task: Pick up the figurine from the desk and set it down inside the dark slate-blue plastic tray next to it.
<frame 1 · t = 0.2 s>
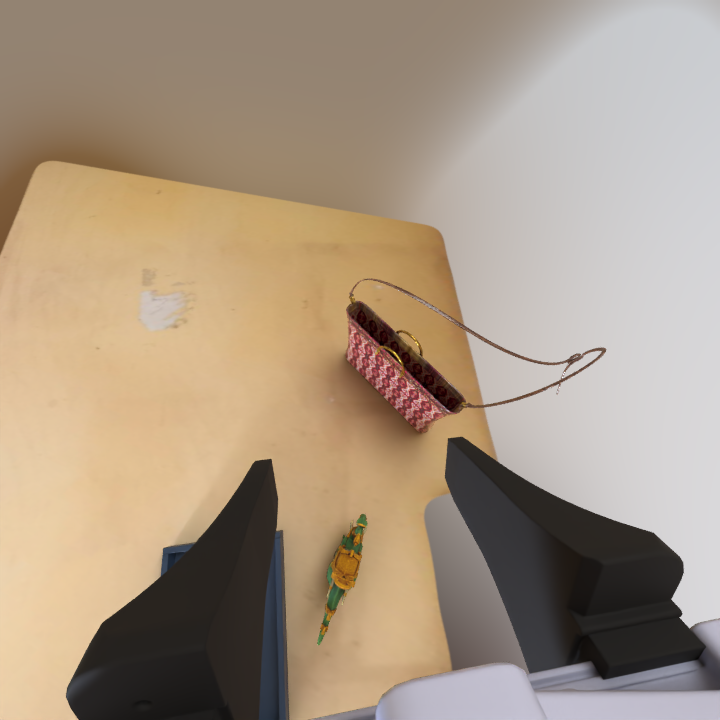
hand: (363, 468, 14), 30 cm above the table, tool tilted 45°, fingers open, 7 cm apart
figurine: (341, 566, 39), on the table
handbag: (405, 390, 48), on the table
tray: (226, 629, 36), on the table
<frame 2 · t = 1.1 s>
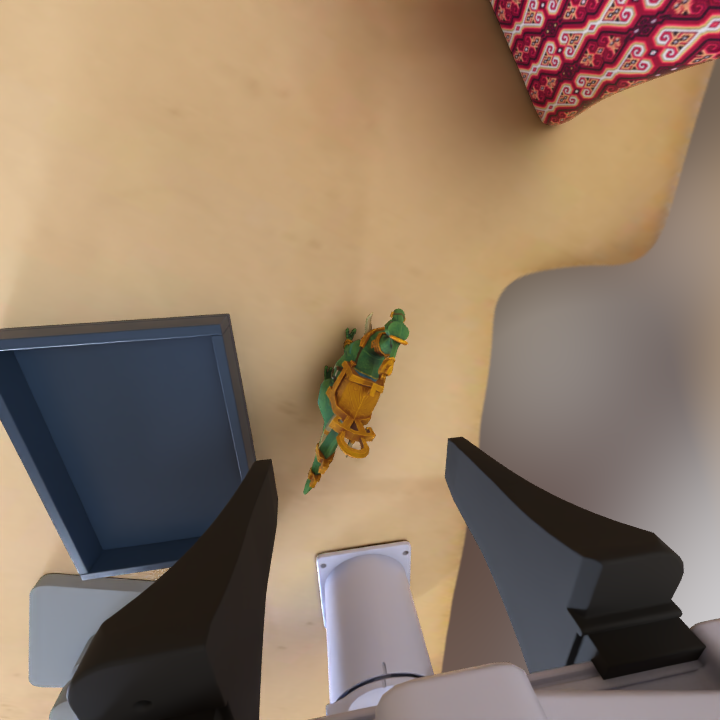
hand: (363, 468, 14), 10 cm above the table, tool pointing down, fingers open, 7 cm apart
figurine: (341, 373, 23), on the table
shower valve: (123, 637, 29), on the table
tray: (157, 445, 23), on the table
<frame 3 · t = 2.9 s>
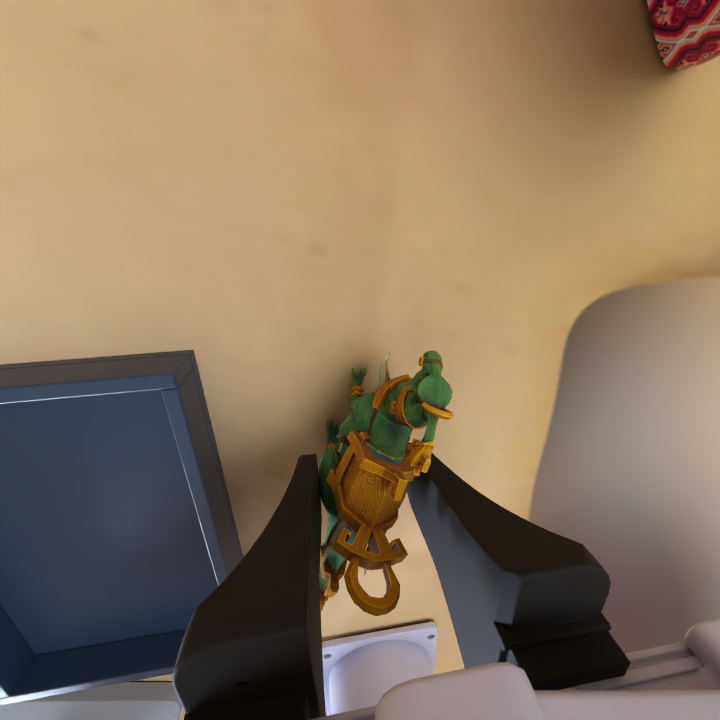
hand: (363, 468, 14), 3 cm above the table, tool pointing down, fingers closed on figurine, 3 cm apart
figurine: (350, 427, 17), on the table, touching gripper
tray: (101, 525, 17), on the table
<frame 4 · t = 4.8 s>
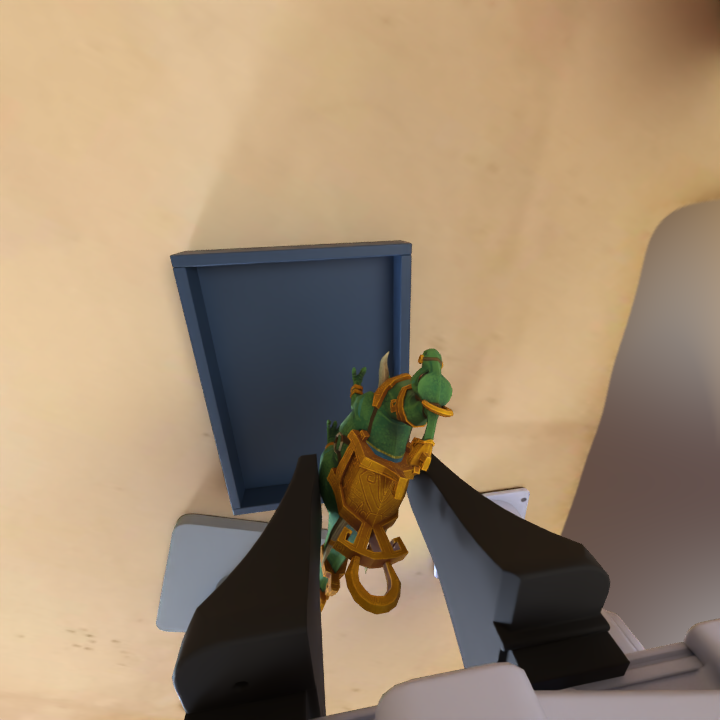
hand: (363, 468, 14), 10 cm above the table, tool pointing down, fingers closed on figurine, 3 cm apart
figurine: (350, 426, 17), point 7 cm above the table, touching gripper
shower valve: (244, 583, 30), on the table
tray: (310, 380, 23), on the table
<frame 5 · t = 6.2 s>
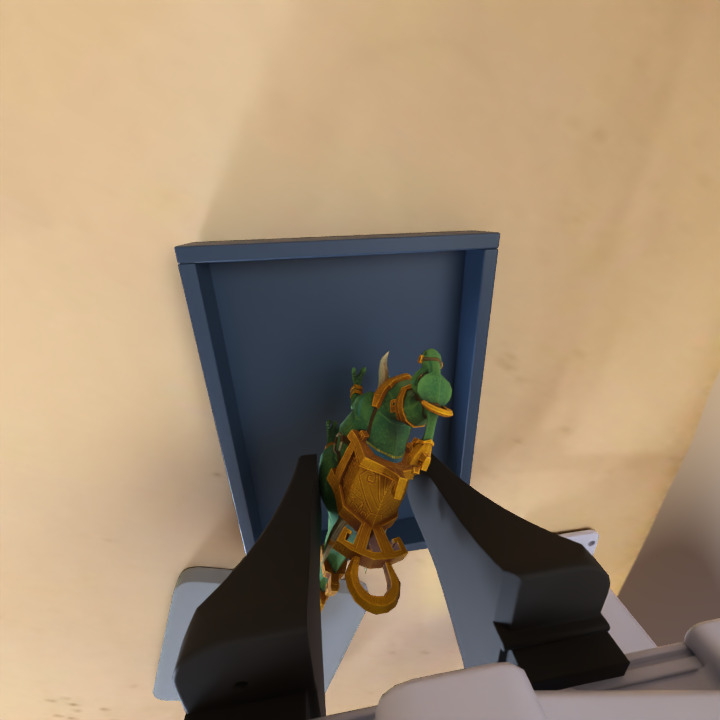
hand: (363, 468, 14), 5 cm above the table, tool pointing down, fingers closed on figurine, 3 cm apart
figurine: (350, 426, 17), point 2 cm above the table, touching gripper
shower valve: (258, 642, 25), on the table
tray: (349, 407, 18), on the table
when the fingers open (3 cm above the table, at t = 7.0 s): figurine stays where it is, resting on tray.
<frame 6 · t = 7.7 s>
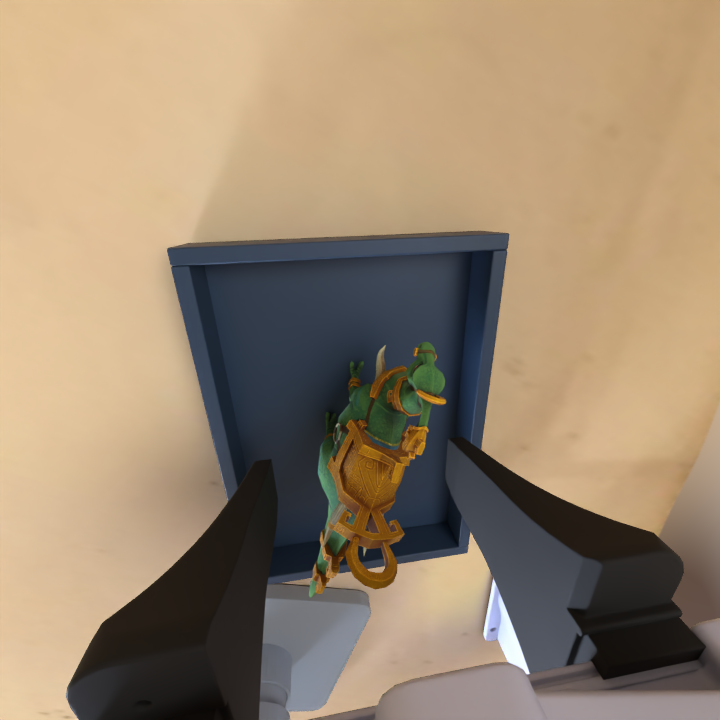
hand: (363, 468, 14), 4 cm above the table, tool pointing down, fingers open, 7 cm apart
figurine: (348, 418, 17), resting on tray
shower valve: (256, 652, 24), on the table
tray: (350, 414, 17), on the table
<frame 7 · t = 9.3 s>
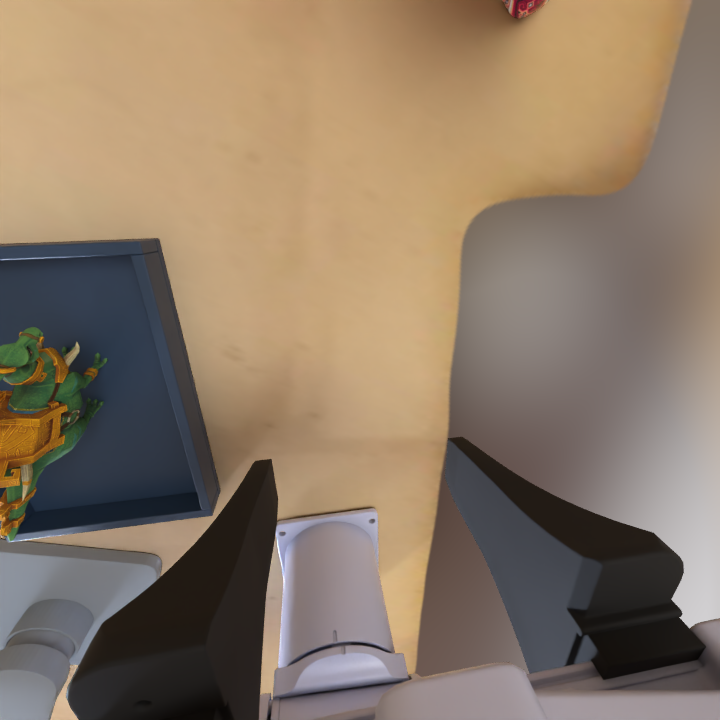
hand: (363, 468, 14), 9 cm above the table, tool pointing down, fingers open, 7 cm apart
figurine: (82, 396, 20), resting on tray
shower valve: (68, 610, 27), on the table
tray: (88, 393, 21), on the table
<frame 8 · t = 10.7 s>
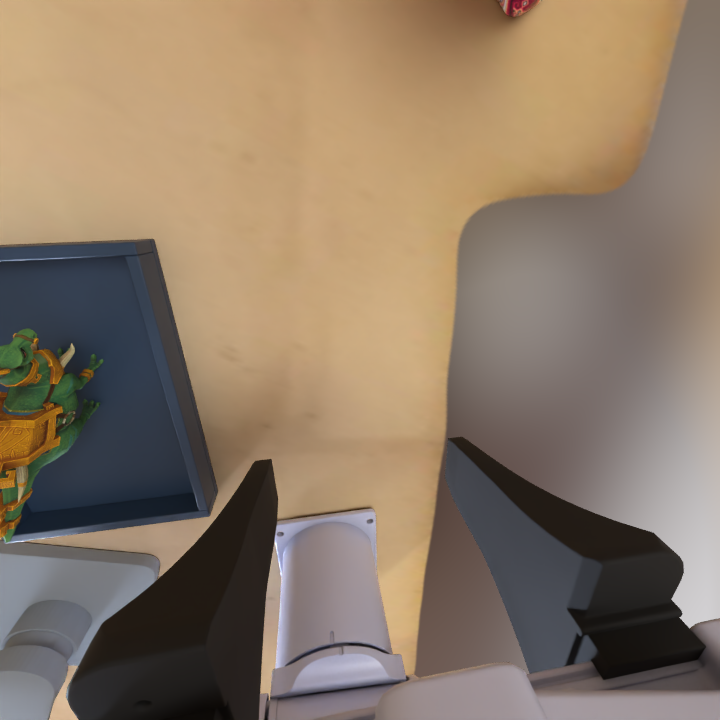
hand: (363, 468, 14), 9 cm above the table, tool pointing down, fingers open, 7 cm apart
figurine: (79, 397, 20), resting on tray
shower valve: (66, 611, 27), on the table
tray: (85, 394, 21), on the table
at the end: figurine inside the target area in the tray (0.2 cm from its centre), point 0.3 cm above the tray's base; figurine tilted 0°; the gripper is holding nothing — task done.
